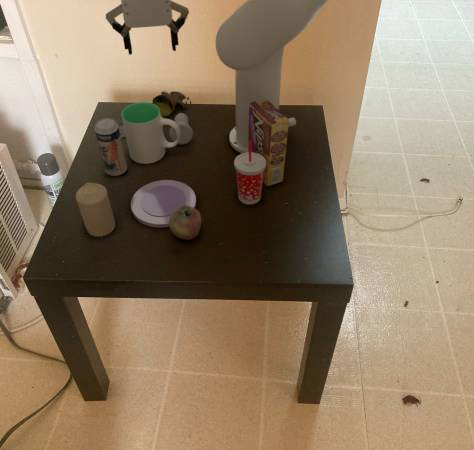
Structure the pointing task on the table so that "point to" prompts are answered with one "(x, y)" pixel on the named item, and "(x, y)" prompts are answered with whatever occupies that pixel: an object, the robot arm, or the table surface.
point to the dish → (161, 202)
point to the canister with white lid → (111, 146)
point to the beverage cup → (249, 175)
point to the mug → (146, 132)
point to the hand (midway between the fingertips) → (152, 50)
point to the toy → (168, 102)
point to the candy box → (268, 138)
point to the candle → (95, 209)
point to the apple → (185, 222)
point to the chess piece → (181, 129)
